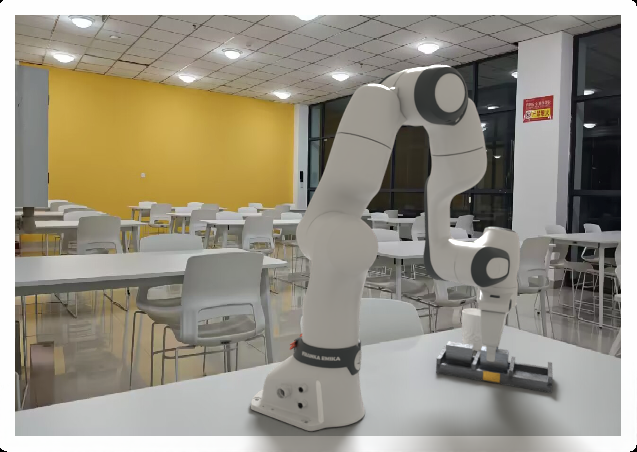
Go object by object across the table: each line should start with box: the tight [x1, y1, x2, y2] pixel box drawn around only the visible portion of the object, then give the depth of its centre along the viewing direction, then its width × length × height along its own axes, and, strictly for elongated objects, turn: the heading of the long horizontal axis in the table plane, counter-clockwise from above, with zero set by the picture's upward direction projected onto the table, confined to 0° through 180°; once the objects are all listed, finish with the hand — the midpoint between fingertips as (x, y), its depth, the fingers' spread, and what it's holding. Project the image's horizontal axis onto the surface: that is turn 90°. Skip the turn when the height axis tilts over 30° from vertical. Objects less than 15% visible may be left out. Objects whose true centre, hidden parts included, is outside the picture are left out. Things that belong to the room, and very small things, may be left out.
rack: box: [435, 340, 554, 393], centre depth 120 cm, size 25×10×6 cm, turn 66°
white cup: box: [461, 307, 486, 352], centre depth 140 cm, size 8×8×10 cm
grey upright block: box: [480, 346, 510, 374], centre depth 120 cm, size 6×3×5 cm, turn 66°
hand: (492, 354), depth 120 cm, fingers open, 8 cm apart
